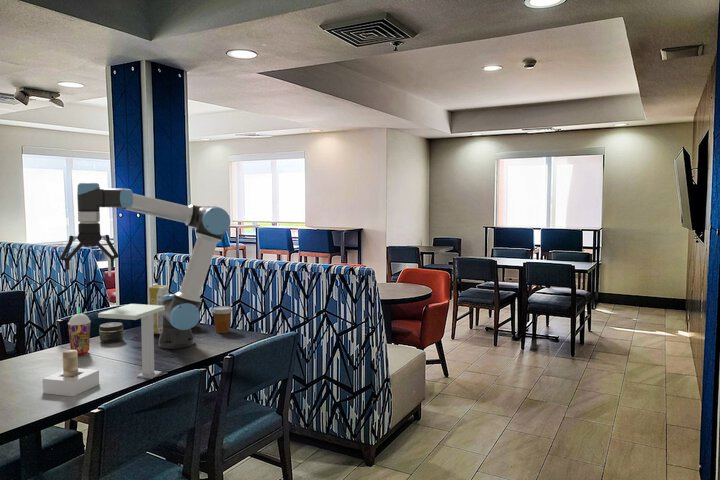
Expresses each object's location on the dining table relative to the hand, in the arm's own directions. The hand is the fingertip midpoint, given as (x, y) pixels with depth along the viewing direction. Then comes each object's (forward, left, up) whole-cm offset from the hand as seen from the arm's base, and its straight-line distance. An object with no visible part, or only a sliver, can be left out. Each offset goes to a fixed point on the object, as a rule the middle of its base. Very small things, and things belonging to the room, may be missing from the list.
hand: (90, 277), depth 202 cm
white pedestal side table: (-12, +21, -35) cm, 43 cm away
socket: (+9, +26, -35) cm, 44 cm away
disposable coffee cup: (-60, -24, -35) cm, 73 cm away
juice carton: (-33, -39, -35) cm, 62 cm away
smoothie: (+3, -17, -35) cm, 39 cm away
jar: (-11, -33, -35) cm, 49 cm away
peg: (+9, +26, -34) cm, 43 cm away
